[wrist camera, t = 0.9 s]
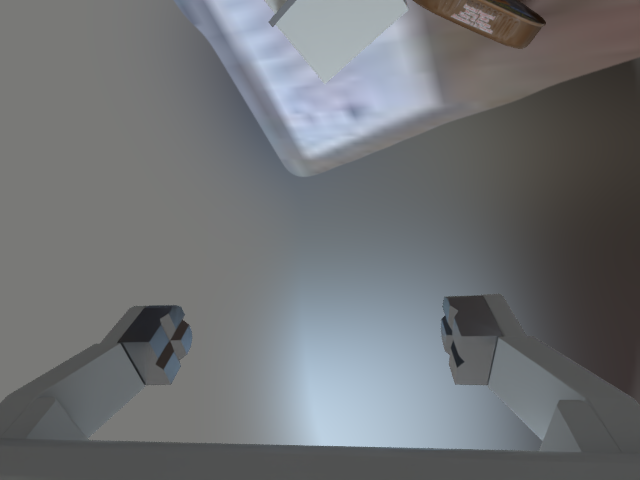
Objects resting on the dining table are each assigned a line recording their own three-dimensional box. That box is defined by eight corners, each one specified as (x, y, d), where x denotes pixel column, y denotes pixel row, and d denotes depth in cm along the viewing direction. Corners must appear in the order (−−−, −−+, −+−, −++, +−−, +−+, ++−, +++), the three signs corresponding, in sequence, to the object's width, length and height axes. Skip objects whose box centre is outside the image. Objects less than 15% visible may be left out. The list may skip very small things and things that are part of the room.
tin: (533, 7, 37) (562, 26, 31) (512, 37, 39) (536, 61, 33) (409, -52, 35) (416, -44, 29) (395, -17, 37) (398, -2, 31)
